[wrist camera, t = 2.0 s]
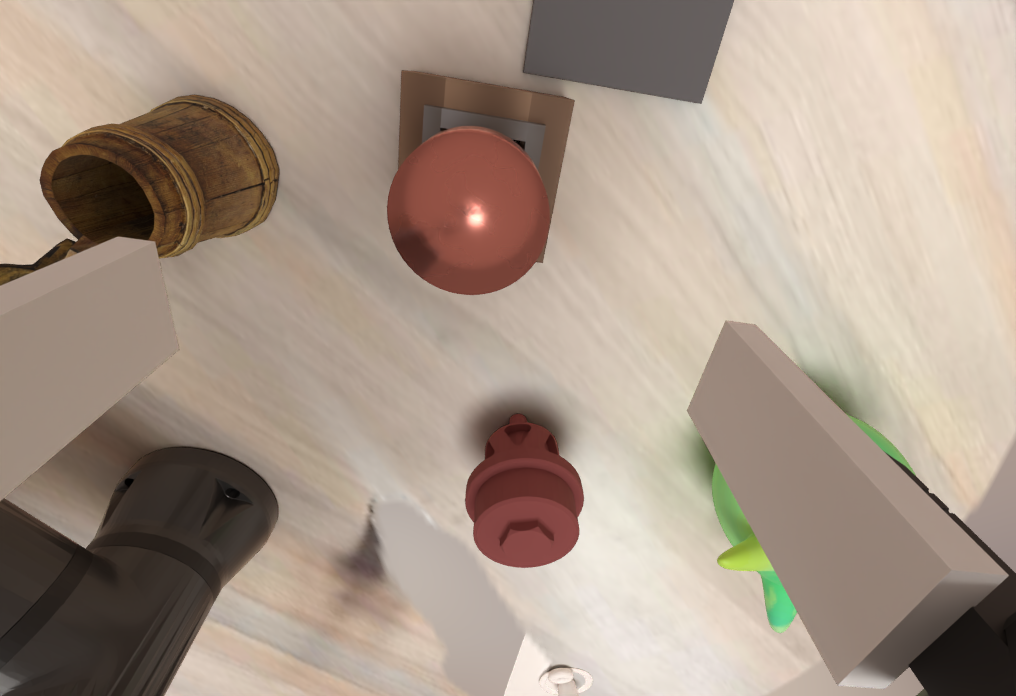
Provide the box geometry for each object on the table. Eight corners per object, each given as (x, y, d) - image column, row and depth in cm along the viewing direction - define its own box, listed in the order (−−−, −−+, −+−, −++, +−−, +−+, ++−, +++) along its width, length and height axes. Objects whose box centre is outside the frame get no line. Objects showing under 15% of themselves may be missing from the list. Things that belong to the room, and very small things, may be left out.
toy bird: (877, 464, 49) (1009, 600, 36) (726, 531, 54) (796, 672, 41) (819, 345, 42) (958, 463, 29) (650, 435, 47) (706, 570, 34)
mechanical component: (479, 480, 49) (462, 404, 45) (574, 470, 49) (567, 392, 44) (473, 592, 39) (450, 508, 34) (595, 580, 38) (589, 493, 33)
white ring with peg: (546, 659, 68) (549, 691, 64) (599, 663, 69) (605, 695, 65) (534, 689, 72) (535, 721, 69) (584, 693, 73) (588, 724, 70)
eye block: (408, 222, 36) (392, 246, 31) (415, 71, 31) (398, 70, 26) (537, 240, 37) (543, 268, 32) (564, 97, 32) (576, 101, 27)
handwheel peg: (429, 205, 35) (385, 284, 22) (436, 100, 32) (389, 118, 18) (521, 218, 36) (534, 304, 22) (538, 117, 32) (565, 146, 19)
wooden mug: (108, 222, 36) (-199, 335, 20) (179, 64, 31) (-155, 51, 15) (221, 293, 39) (31, 440, 23) (303, 159, 34) (131, 232, 18)
